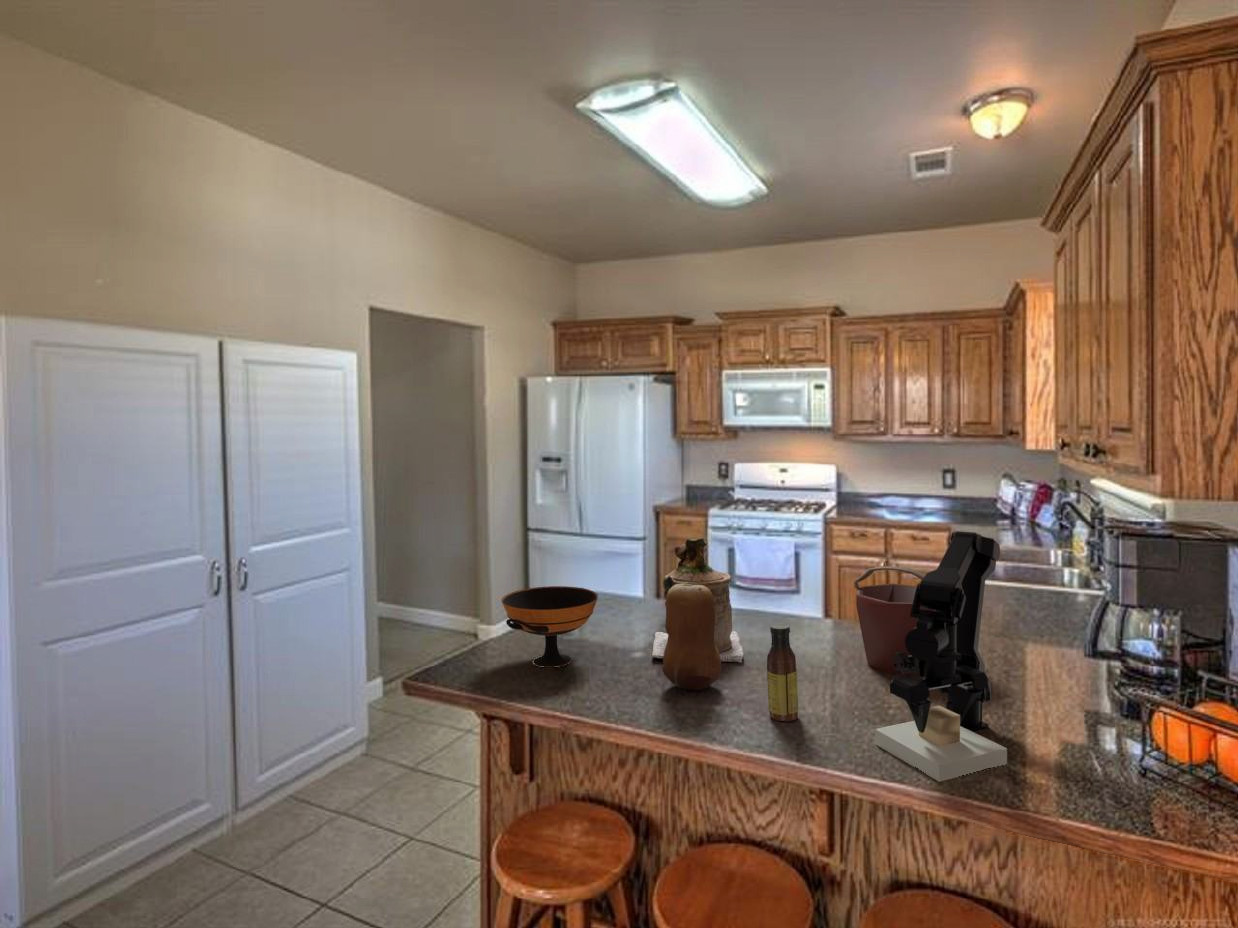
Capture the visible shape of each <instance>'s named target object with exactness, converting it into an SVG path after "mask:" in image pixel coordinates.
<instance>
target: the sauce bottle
mask: <svg viewBox="0 0 1238 928" xmlns="http://www.w3.org/2000/svg"><path fill="white" fill-rule="evenodd" d="M769 626H770V628H769V629H770V630H769V631H770V634H771V644H770V645H771V647H770V649H769V651H768V654H767V657H766V659H767V660H766V677H767V678H766V679H767V682H766V683H767V701H768V710H769V716H770V717H771V718H772V720H775V721H778V722H787V723H788V722H792V721H795V720H797V719H798V717H799V694H798V693H799V692H798V688H799V687H798V673H797V672H798V670H797V664H796V663H797V660H796V654H795V652H794V651H793V649H792V647H791V643H790V632H791V627H790V625H789V624H787V623H774V624H771V625H769Z"/></svg>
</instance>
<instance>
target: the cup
mask: <svg viewBox="0 0 1238 928" xmlns="http://www.w3.org/2000/svg"><path fill="white" fill-rule="evenodd" d="M598 599H599V595H598V593H596V592H595V591H593V590H591V589H587V588H584V587H577V586H567V585H566V586H563V585H562V586H561V585H560V586H554V585H553V586H537V587H536V586H535V587H530V588H525V589H519V590H515V591H512V592H510V593H508V594H506V595H504V596H503V597H502V598H501V604H502V606H503V608H504V610H505V612H506V616H507V617H508V619H507V620H506V621H505V622H506V623H505V624H506V625H507V627H509V628H510V629H512V630H518V631H519V630H521V631H523V632H525V633H528V634H531V635H536V636H544V641H545V645H544V651H543V652H544V653H543V654H542V655H543V656H542V657H539V658H537V659H535V660H534V663H535V665H538V666H544V667H555V666H562V665H565V664H568V663H569V662H570V663H571V662H572V658H571V657H570V656H569V655H567V654H562V653H561V654H560V651H559V646H558V636H561V635H565V634H568V633H571V632H573V631H576V630H578V629H579V628H581V627H583V625H585V624H586V623H587V622H588V621H589V619H590V617H591V616H592V615H593V614H594V609H595V607H596V603H597V602H598ZM570 663H569V664H570ZM569 664H568V665H569Z"/></svg>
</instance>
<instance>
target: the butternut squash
mask: <svg viewBox="0 0 1238 928" xmlns="http://www.w3.org/2000/svg"><path fill="white" fill-rule="evenodd" d="M665 601H666V606H665V620H664V621H665V626H664V627H665V631H666V632H665V633H667V634H668V641H667V644H666V647H665V650H664V657H663V659H662V661H663V662H662V664H663V666H662V673H663V675H664V676H665V677H666V678H667V680H669V681H670V683H671V684H672V685H674V686H676V687H678V688H681V689H686V690H687V689H688V690H690V691H694V692H696V691H704V689H705V690H706V688H707V687H709V686H711V685H712V684H713V683H715V681H717V679H718V678H719V677H720V675H721V673H722V661H721V658H720V654H719V652H718V649H717V646H716V644H715V641H714V630H715V608H714V600H713V595H712V593H711V591H710V590H709V589H708V588H707V587H705V586H703V585H690V584H683V583H682V584H676V585H674V586H672V587H671V588H670V589H669V591H668V593H667V596H666V599H665Z"/></svg>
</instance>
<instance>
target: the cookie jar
mask: <svg viewBox="0 0 1238 928" xmlns="http://www.w3.org/2000/svg"><path fill="white" fill-rule="evenodd" d="M685 541H686V542H685V543H682V544H678V545H675V547H674V553H675V554H674V555H675V557H677V558H678V559H680V561H678V563H677V567H676V568H674V570H672V571H671V572H670V573H667V574H666V575H664V577H663V581H662V584H663V589H664V591H663V597H664V599H665V601H664V606H665V607H666V596H667V593H668V591H669V589H670V588H671V587H672V586H674V585H676V584H682V583H683V584H690V585H703V586H705V587H707V588H708V589H709V590H710V591H711V593H712V595H713V600H714V608H715V630H714V641H715V644H716V646H717V649H718V652H719V654H720V658H721V662H735V663H736V662H737V663H741V664H742V662H743V661H742V659H743V658H744V649H743V647H742V646H741V642H740V635H739V633H738V632H737V631H734V630H733V608H732V604H731V599H730V588H729V587H730V583H731V581H732V577H731V575H730V574H729V573H727V572H722V571H718V570H715V569H714V568H712V567H711V566H710V565H708V564H706V561H705V560H706V559H705V556H704V555H705V554H704V550H705V547H706V546H707V545H708V544H709V543H708V542H707V541H705V539H704V538H703V537H699V538H696V539H694V538H686V540H685ZM667 641H668V634H667V632H662V631H656V632H655V633H654V639H653V645H652V653H651V655H652V658H656V659H662V660H663V657H664V650H665V647H666V644H667Z"/></svg>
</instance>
